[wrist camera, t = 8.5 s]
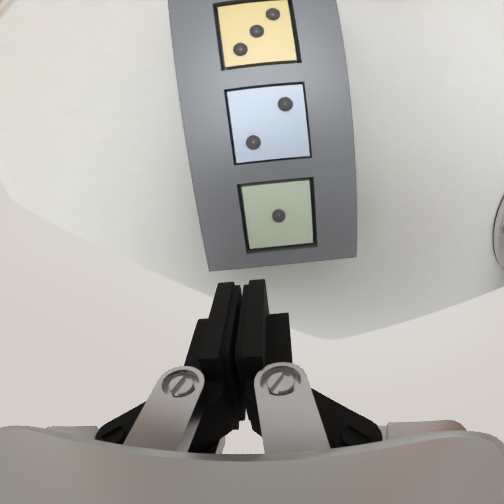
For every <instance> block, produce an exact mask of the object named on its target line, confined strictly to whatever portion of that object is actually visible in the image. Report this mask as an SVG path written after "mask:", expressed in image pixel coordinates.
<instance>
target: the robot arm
mask: <svg viewBox="0 0 504 504" xmlns="http://www.w3.org/2000/svg"><path fill="white" fill-rule="evenodd" d="M494 250H495V254H496V258H497V260H498V262H499V264H500V265H501V266H502V267H503V268H504V198H503V200H502V203H501V205H500V208H499V211H498V214H497V218H496V222H495V228H494ZM246 410H247V414H248V418H249V420H250V421H251V425H252V429H253V430H254V431H255V432H256V433H257V434H259V435H260V436H261V437H262V438H263V445H264V450H265V454H222V451H223V448H224V445H225V435H227V434H228V433H229V432H231V431H232V430H236V429H237V430H238V429H239V421H243V420H245V412H246ZM0 504H504V444H503V442H502V441H500V440H499V439H498V438H496V437H494V436H492V435H489V434H486V433H481V432H474V431H466V429H465V428H464V427H463V426H462V425H461V424H460V423H458V422H456V421H453V420H440V421H424V422H399V423H398V422H397V423H396V422H395V423H388V425H387V426H377V425H376V424H375V423H373V422H372V421H371V420H369V419H367V418H365V417H363V416H361V415H359V414H357V413H355V412H353V411H352V410H350V409H348V408H346V407H344V406H342V405H341V404H339V403H337V402H335V401H333V400H331V399H330V398H328V397H326V396H324V395H322V394H321V393H319V392H317V391H315V390H314V389H312V388H311V387H310V385H309V381H308V378H307V375H306V374H305V372H304V370H303V369H302V368H300V367H299V366H297V365H295V364H292V350H291V338H290V325H289V314H288V313H279V314H269V308H268V300H267V292H266V284H265V279H260V280H250V281H249V284H248V285H244V287H243V295H242V294H241V288H240V285H236V286H235V284H234V282H225V283H218V285H217V289H216V293H215V296H214V300H213V304H212V308H211V312H210V315H209V318H208V319H199V320H198V322H197V325H196V328H195V331H194V334H193V338H192V341H191V344H190V348H189V351H188V354H187V357H186V361H185V364H184V366H180V367H176V368H173V369H171V370H168V371H167V372H165V373H164V374H163V375H162V376H161V377H160V378H159V380H158V381H157V383H156V385H155V387H154V389H153V390H152V393H151V394H150V396H149V398H148V400H147V401H146V402H144V403H142V404H140V405H139V406H137V407H135V408H133V409H132V410H130V411H128V412H126V413H124V414H123V415H121V416H119V417H117V418H115V419H114V420H112V421H110V422H108V423H106V424H105V425H103V426H102V427H101V428H100V429H98V428H97V426H82V427H81V426H79V427H78V426H77V427H54V426H53V427H47V428H46V429H44V428H38V427H31V426H8V427H2V428H0Z"/></svg>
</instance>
